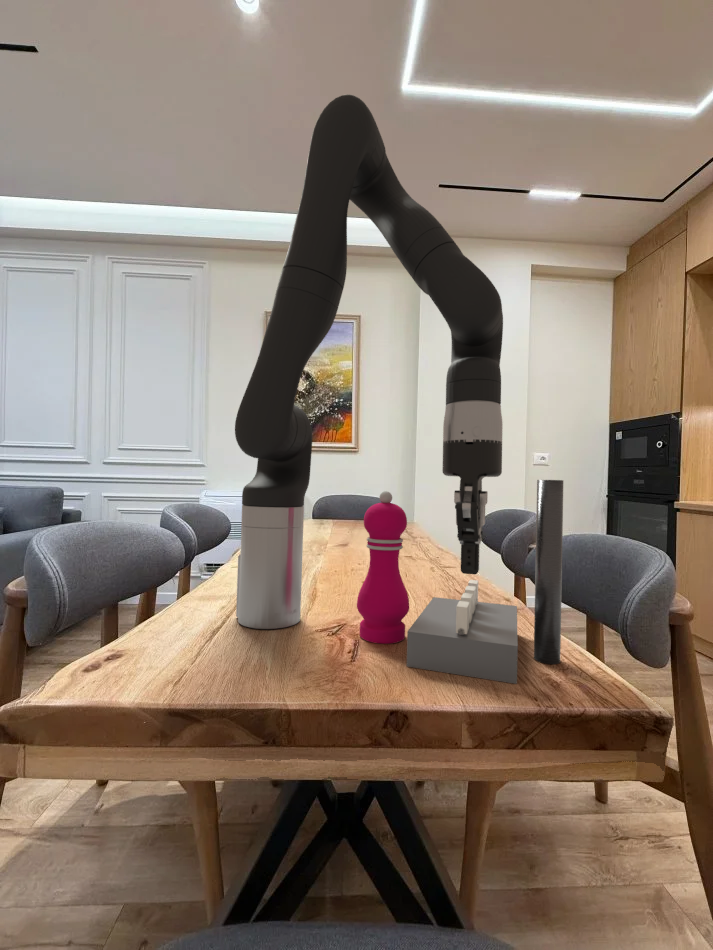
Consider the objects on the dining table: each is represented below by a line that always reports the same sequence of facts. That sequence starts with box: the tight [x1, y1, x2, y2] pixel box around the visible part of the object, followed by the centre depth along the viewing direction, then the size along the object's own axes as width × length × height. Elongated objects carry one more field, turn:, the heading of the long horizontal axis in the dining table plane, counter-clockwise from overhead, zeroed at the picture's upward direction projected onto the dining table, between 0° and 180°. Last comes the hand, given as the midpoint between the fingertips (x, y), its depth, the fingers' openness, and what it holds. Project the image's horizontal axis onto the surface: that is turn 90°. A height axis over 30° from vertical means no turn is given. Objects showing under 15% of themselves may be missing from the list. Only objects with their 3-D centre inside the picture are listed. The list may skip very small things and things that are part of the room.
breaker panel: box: [406, 596, 519, 685], centre depth 59 cm, size 12×18×4 cm, turn 161°
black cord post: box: [533, 479, 564, 665], centre depth 56 cm, size 3×3×22 cm
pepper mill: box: [356, 490, 410, 645], centre depth 63 cm, size 7×7×20 cm
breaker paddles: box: [456, 579, 479, 635], centre depth 59 cm, size 1×16×3 cm, turn 160°
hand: (469, 572), depth 59 cm, fingers closed
